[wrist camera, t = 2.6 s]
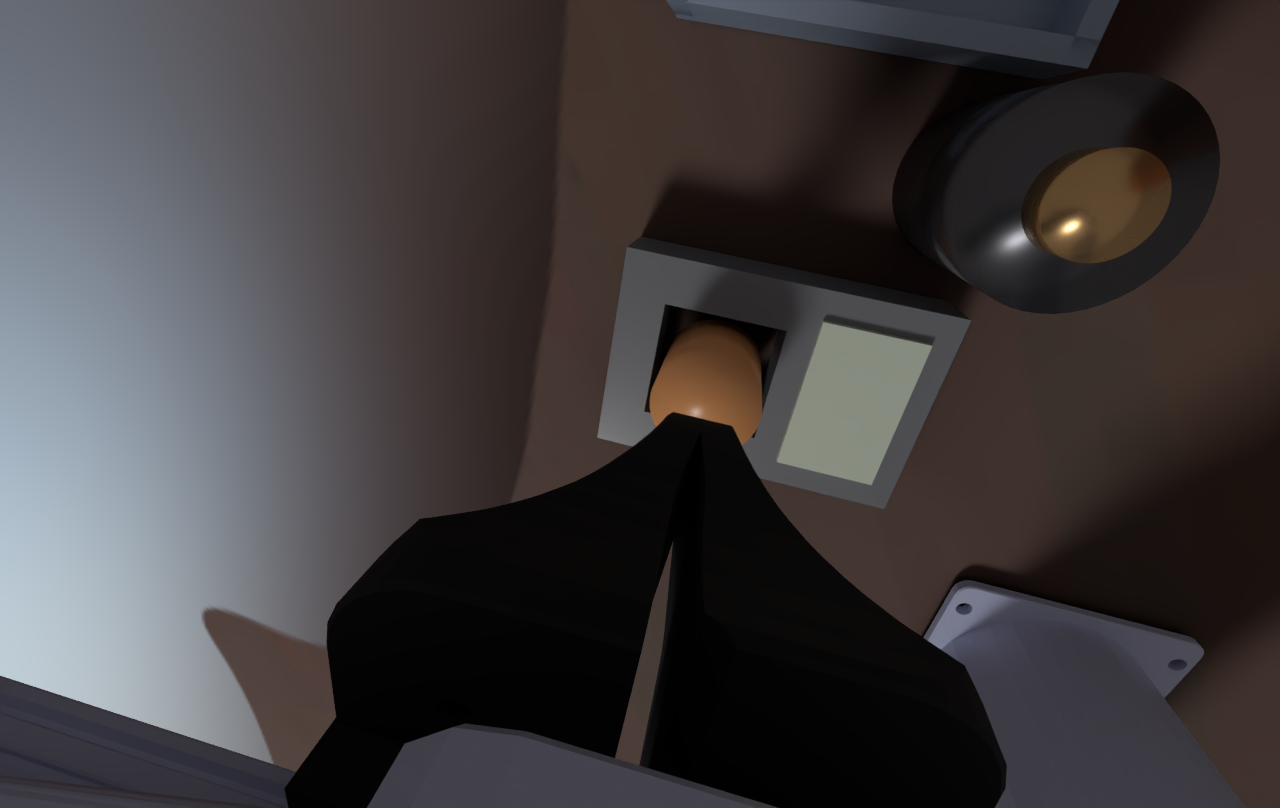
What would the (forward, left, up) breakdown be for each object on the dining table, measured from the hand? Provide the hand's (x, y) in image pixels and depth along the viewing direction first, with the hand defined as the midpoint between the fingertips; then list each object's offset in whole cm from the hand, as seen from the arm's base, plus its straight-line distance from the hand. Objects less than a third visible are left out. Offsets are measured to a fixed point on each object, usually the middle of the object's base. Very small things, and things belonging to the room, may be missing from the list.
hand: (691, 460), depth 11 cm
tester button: (0, 0, -6) cm, 6 cm away
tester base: (0, -2, -7) cm, 7 cm away
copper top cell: (+6, -6, -7) cm, 11 cm away
